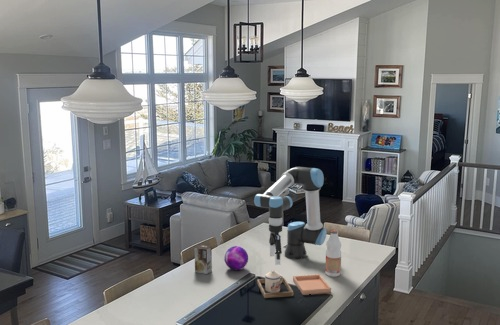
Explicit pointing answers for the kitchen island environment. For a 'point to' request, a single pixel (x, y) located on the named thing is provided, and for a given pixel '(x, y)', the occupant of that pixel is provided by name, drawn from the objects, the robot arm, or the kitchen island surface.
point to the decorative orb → (236, 258)
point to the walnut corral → (277, 294)
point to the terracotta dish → (311, 284)
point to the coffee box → (203, 259)
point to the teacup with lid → (273, 282)
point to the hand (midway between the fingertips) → (274, 260)
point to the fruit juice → (333, 255)
